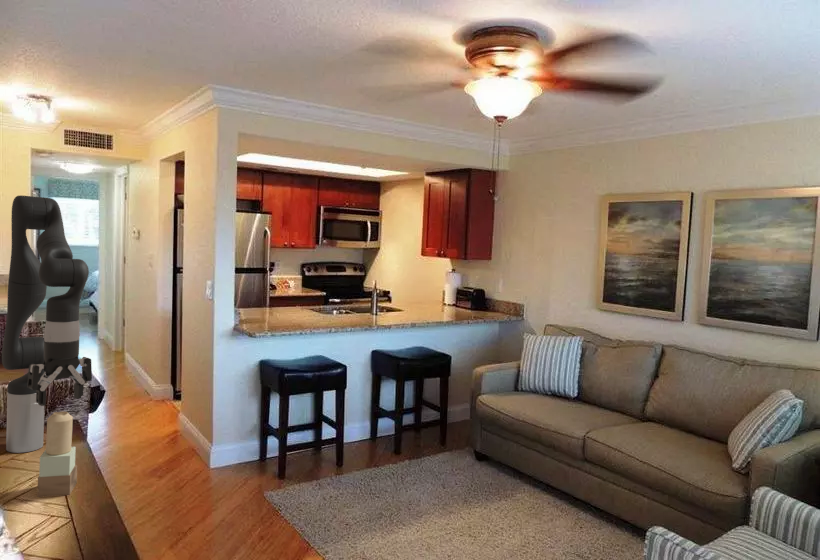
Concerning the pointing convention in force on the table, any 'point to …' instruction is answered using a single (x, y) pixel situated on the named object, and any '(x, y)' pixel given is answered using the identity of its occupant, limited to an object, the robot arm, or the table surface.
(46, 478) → the base block
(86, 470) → the table surface
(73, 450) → the top block
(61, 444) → the candle
